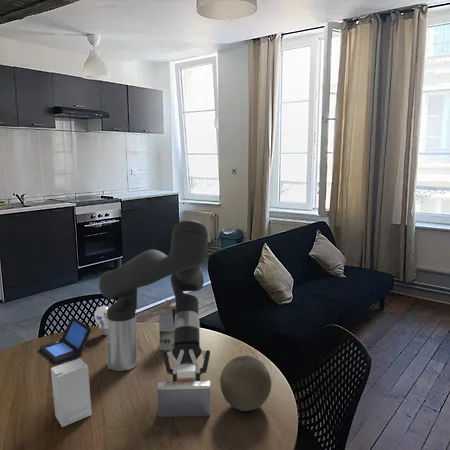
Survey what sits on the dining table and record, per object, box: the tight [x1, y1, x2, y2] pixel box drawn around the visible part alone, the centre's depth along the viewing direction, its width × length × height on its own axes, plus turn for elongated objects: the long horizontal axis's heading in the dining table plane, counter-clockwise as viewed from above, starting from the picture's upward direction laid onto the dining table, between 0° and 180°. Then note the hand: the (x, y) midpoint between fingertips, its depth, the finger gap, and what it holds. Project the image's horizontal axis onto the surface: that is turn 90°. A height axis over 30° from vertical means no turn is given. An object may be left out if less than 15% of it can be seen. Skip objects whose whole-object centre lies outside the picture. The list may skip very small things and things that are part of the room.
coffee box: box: [158, 299, 176, 352], centre depth 151 cm, size 9×6×16 cm
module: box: [177, 364, 196, 382], centre depth 114 cm, size 5×4×10 cm
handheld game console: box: [39, 317, 92, 364], centre depth 147 cm, size 16×13×9 cm
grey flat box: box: [157, 380, 211, 418], centre depth 111 cm, size 14×2×9 cm, turn 93°
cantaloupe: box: [219, 355, 272, 412], centre depth 112 cm, size 14×14×15 cm
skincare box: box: [50, 357, 93, 428], centre depth 109 cm, size 8×6×15 cm
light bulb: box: [94, 305, 110, 337], centre depth 160 cm, size 7×7×12 cm
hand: (186, 388), depth 112 cm, fingers closed on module, 5 cm apart
